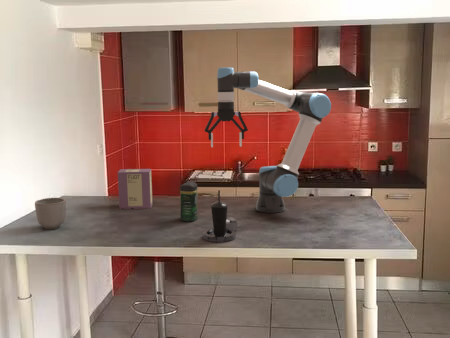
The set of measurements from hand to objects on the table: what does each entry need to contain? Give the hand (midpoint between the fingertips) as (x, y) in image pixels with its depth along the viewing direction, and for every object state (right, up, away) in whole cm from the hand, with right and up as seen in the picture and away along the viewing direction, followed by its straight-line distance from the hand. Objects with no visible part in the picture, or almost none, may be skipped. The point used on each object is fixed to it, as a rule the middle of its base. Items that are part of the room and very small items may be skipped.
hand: (226, 146), depth 248 cm
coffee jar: (-18, -36, +12) cm, 42 cm away
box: (-49, -31, +38) cm, 70 cm away
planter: (-82, -38, +1) cm, 91 cm away
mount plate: (-3, -40, -18) cm, 44 cm away
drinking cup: (-3, -40, -18) cm, 44 cm away
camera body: (0, -39, -6) cm, 39 cm away
